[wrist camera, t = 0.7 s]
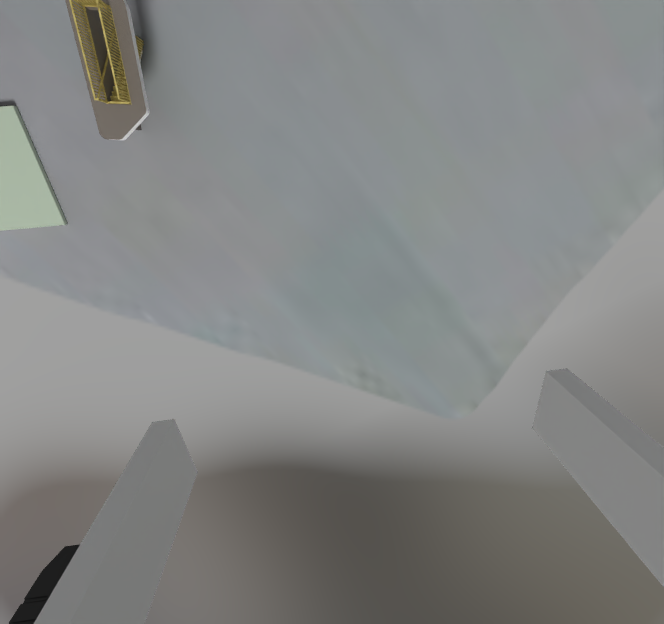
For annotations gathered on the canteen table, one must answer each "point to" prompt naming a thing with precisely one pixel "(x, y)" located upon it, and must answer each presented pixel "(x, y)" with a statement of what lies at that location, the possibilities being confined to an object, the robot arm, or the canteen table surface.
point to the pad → (23, 179)
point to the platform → (110, 64)
